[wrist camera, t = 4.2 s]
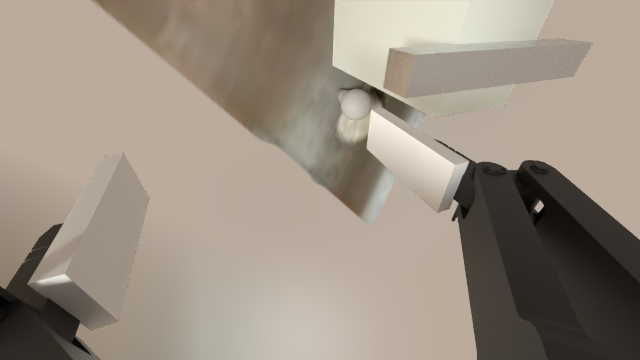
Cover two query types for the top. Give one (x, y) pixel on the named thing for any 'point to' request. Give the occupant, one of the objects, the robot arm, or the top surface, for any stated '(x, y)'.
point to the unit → (430, 40)
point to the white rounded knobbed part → (354, 103)
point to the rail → (479, 65)
